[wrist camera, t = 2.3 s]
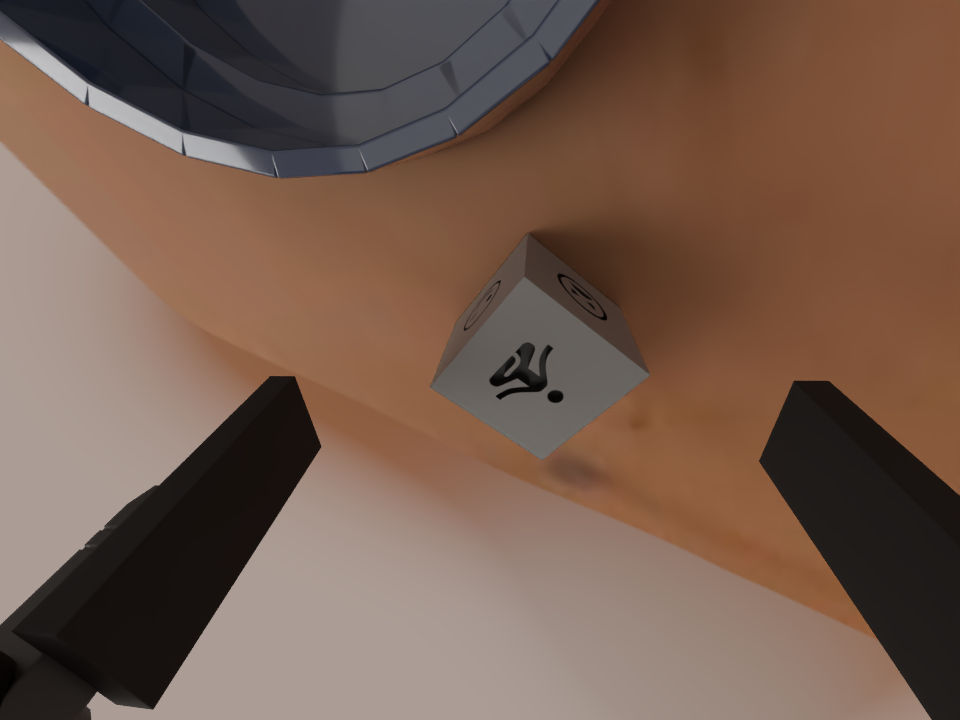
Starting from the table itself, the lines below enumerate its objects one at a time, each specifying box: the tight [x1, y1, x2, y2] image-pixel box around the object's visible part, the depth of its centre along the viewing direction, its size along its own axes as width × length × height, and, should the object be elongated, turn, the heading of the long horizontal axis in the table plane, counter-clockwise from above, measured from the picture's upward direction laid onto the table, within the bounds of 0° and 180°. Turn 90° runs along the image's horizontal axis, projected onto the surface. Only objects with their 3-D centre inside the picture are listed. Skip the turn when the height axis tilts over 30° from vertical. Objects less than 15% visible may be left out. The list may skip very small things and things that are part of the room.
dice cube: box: [430, 233, 650, 460], centre depth 15 cm, size 5×5×5 cm
